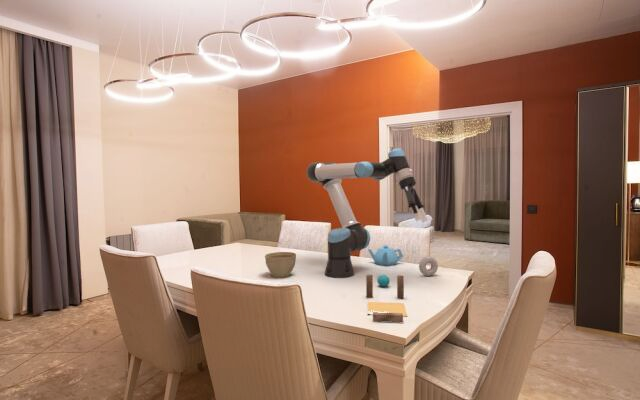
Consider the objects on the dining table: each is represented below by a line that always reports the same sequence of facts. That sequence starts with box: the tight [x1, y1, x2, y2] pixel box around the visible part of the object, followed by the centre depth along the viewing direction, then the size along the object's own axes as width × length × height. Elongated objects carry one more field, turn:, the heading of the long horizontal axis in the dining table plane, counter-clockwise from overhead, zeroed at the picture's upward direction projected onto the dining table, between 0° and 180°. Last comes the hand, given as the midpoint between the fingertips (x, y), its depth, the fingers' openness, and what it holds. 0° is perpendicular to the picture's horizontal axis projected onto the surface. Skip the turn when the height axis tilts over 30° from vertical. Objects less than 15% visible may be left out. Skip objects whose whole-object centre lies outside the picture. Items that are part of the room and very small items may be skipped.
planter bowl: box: [264, 251, 297, 278], centre depth 190 cm, size 16×16×11 cm
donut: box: [418, 255, 439, 277], centre depth 184 cm, size 10×3×10 cm, turn 102°
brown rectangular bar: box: [372, 312, 404, 323], centre depth 125 cm, size 10×2×2 cm, turn 82°
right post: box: [396, 274, 405, 300], centre depth 150 cm, size 3×3×9 cm
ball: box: [377, 273, 391, 288], centre depth 167 cm, size 6×6×6 cm
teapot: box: [368, 244, 404, 267], centre depth 214 cm, size 15×15×11 cm
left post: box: [365, 274, 374, 299], centre depth 152 cm, size 3×3×9 cm
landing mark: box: [366, 301, 408, 317], centre depth 137 cm, size 14×14×1 cm
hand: (422, 220), depth 171 cm, fingers open, 13 cm apart
